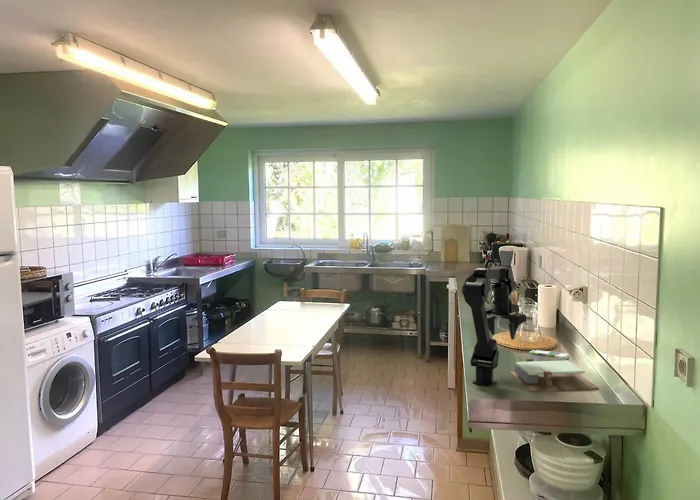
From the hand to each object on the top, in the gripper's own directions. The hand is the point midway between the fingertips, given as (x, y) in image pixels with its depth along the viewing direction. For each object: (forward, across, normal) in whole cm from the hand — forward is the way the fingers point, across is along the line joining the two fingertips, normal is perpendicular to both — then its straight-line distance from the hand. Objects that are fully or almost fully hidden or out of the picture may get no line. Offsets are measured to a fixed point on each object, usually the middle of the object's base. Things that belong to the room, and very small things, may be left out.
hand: (502, 336), depth 212 cm
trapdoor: (+11, -20, 0) cm, 23 cm away
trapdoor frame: (+13, -20, -1) cm, 24 cm away
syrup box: (+12, -3, -14) cm, 18 cm away
